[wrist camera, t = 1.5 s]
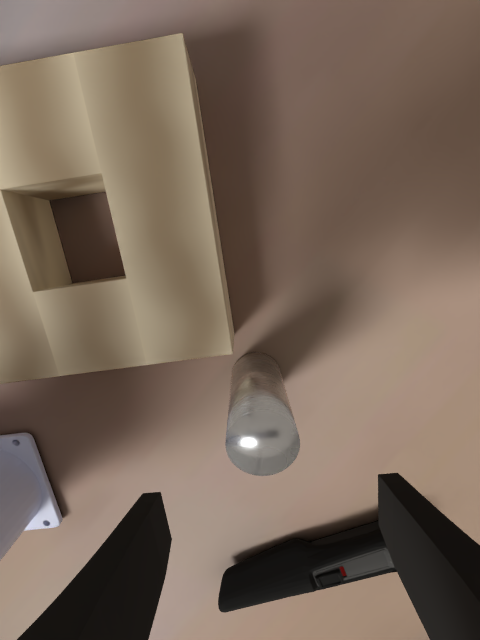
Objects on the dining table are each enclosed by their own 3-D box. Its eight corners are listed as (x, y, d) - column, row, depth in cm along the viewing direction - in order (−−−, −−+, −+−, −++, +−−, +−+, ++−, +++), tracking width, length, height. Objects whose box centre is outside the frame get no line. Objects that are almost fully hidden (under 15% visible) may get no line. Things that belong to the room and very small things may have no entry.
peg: (235, 399, 20) (231, 479, 13) (228, 355, 19) (220, 416, 12) (282, 394, 20) (303, 471, 13) (277, 349, 19) (296, 407, 12)
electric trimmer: (213, 549, 24) (208, 594, 21) (404, 498, 22) (429, 539, 19) (230, 582, 25) (228, 630, 22) (415, 534, 23) (440, 580, 20)
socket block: (24, 361, 19) (-22, 386, 16) (-58, 123, 16) (-139, 91, 13) (234, 334, 19) (232, 353, 15) (195, 79, 15) (182, 33, 12)
